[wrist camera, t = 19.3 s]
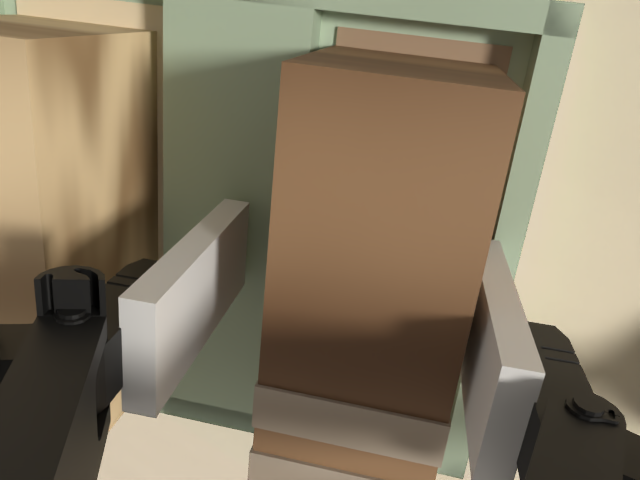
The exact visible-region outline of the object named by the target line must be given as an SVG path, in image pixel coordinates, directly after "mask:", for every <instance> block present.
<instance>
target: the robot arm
mask: <svg viewBox="0 0 640 480" xmlns="http://www.w3.org/2000/svg"><path fill="white" fill-rule="evenodd" d="M248 219H249V202H244V201H237V200H231V199H224V200H223V201H222V202H221V203H220V204H219V205H217V206H216V207H215V208H214V209H213V210H212V211H211V212H210V213H209V214H208V215H207V216H206V217H205V218H203V219H202V220H201V221H200V222H199V223H198V224H197V225H196V226H195V227H194V228H193V229H192V230H190V231H189V232H188V233H187V234H186V235H185V236H184V237H183V238H182V239H181V240H180V241H179V242H178V243H176V244H175V245H174V246H173V247H172V248H171V249H170V250H169V251H168V252H167V253H166V254H165V255H164V256H162V257H161V258H160V259H159V260H158V261H157V260H151V259H145V258H143V259H141V260H138V261H135V262H133V263H130V264H128V265H126V266H125V267H124V268H122V269H121V270H120V271H119V272H118V273H116V276H113V277H112V278H111V279H109V280H108V281H107V284H105V274H103V273H102V272H101V271H100V270H98V269H95V268H92V267H89V266H79V265H72V266H61V267H56V268H52V269H49V270H46V271H44V272H42V273H40V274H39V275H37V276H36V277H35V278H34V290H35V300H36V311H37V317H36V319H35V321H34V323H32V324H0V480H97V477H98V473H99V468H100V464H101V460H102V456H103V452H104V447H105V443H106V439H107V435H108V430H109V426H110V422H111V413H110V402H111V401H112V400H113V399H114V398H115V396H116V395H117V394H118V393H119V391H120V390H121V399H122V411H123V412H128V413H133V414H138V415H143V416H147V417H152V418H156V417H157V416H158V414H159V413H160V411H161V410H162V408H163V407H164V405H165V404H166V402H167V401H168V399H169V398H170V396H171V395H172V393H173V392H174V390H175V389H176V387H177V386H178V384H179V383H180V381H181V380H182V378H183V377H184V375H185V374H186V372H187V370H188V369H189V367H190V366H191V364H192V363H193V361H194V360H195V358H196V357H197V355H198V354H199V352H200V351H201V349H202V348H203V346H204V345H205V343H206V342H207V340H208V339H209V337H210V336H211V334H212V333H213V331H214V330H215V328H216V327H217V325H218V324H219V322H220V321H221V319H222V318H223V316H224V315H225V313H226V312H227V310H228V309H229V307H230V306H231V304H232V303H233V301H234V300H235V298H236V297H237V295H238V294H239V292H240V291H241V289H242V288H243V286H244V285H245V268H246V252H247V235H248ZM579 363H580V362H579V360H578V358H577V356H576V354H575V351H574V349H573V347H572V345H571V342H570V340H569V339H568V338H567V337H566V336H565V335H564V334H563V333H562V332H561V331H560V330H559V329H557V328H556V327H555V326H551V325H545V324H539V323H533V322H528V321H527V318H526V315H525V313H524V310H523V307H522V304H521V301H520V298H519V295H518V292H517V289H516V286H515V284H514V281H513V278H512V275H511V272H510V269H509V266H508V263H507V260H506V257H505V255H504V252H503V249H502V246H501V243H500V241H497V240H491V244H490V248H489V252H488V256H487V261H486V265H485V269H484V274H483V278H482V282H481V286H480V291H479V295H478V299H477V304H476V308H475V312H474V316H473V321H472V325H471V329H470V333H469V338H468V342H467V346H466V351H465V355H464V359H463V363H462V368H461V372H460V378H461V387H462V397H463V406H464V415H465V425H466V434H467V443H468V453H469V462H470V472H471V480H514V477H515V474H516V471H517V467H518V472H519V477H520V480H640V436H639V435H637V434H634V433H632V432H630V431H628V430H626V421H625V418H624V415H623V414H622V413H621V412H620V411H619V410H618V408H617V407H616V406H614V405H613V404H611V403H610V402H609V401H607V400H606V399H604V398H602V397H600V396H598V395H596V394H594V393H593V391H592V389H591V387H590V384H589V382H588V380H587V378H586V376H585V373H584V371H583V369H582V367H581V365H579Z"/></svg>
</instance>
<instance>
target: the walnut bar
mask: <svg viewBox="0 0 640 480" xmlns="http://www.w3.org/2000/svg"><path fill="white" fill-rule="evenodd" d="M525 94H526V92H525V91H524V90H522V89H521V88H520V87H519V86H518V85H517V84H516V83H515V82H514V81H513V80H512V79H511V78H510V77H508V76H507V75H506V74H505V73H504V72H503V71H502V70H501V69H500V68H499V67H498V66H497V65H492V64H484V63H476V62H468V61H460V60H451V59H443V58H435V57H427V56H419V55H410V54H402V53H394V52H386V51H378V50H369V49H361V48H353V47H345V46H337V45H334V46H330V47H327V48H324V49H321V50H317V51H314V52H311V53H308V54H304V55H301V56H298V57H295V58H291V59H288V60H285V61H282V63H281V77H280V90H279V104H278V117H277V131H276V144H275V158H274V171H273V184H272V198H271V211H270V225H269V238H268V252H267V265H266V278H265V292H264V305H263V319H262V332H261V346H260V359H259V373H258V380H257V382H256V384H255V386H254V398H253V412H252V426H251V427H254V440H253V446H252V448H251V450H250V454H249V468H248V480H435V479H436V475H437V470H438V468H441V466H442V462H443V458H444V453H445V449H446V445H447V441H448V436H449V432H450V428H451V420H450V415H451V410H452V406H453V402H454V398H455V393H456V389H457V385H458V381H459V376H460V372H461V368H462V363H463V359H464V355H465V351H466V346H467V342H468V338H469V333H470V329H471V325H472V321H473V316H474V312H475V308H476V304H477V299H478V295H479V291H480V286H481V282H482V278H483V274H484V269H485V265H486V261H487V256H488V252H489V248H490V244H491V239H492V235H493V231H494V227H495V222H496V218H497V214H498V209H499V205H500V201H501V197H502V192H503V188H504V184H505V179H506V175H507V171H508V167H509V162H510V158H511V154H512V150H513V145H514V141H515V137H516V132H517V128H518V124H519V120H520V115H521V111H522V107H523V102H524V98H525Z"/></svg>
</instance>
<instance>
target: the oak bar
mask: <svg viewBox="0 0 640 480" xmlns="http://www.w3.org/2000/svg"><path fill="white" fill-rule="evenodd" d="M143 258H145V259H151V260H157V261H158V134H157V31H152V30H144V29H135V28H127V27H119V26H111V25H102V24H94V23H86V22H78V21H69V20H61V19H53V18H45V17H36V16H28V15H20V14H17V15H0V324H32V323H34V321H35V319H36V317H37V311H36V300H35V290H34V278H35V277H36V276H37V275H39V274H40V273H42V272H44V271H46V270H49V269H52V268H56V267H61V266H72V265H79V266H89V267H92V268H95V269H98V270H100V271H101V272H102V273H103V274H105V284H107V281H108V280H109V279H111V278H112V277H113V276H116V273H118V272H119V271H120V270H121V269H122V268H124V267H125V266H126V265H128V264H130V263H133V262H135V261H138V260H141V259H143ZM110 413H111V422H110V426H109V430H108V432H109V431H110V429H111V428H112V427H113V426H114V424H115V423H116V422H117V421H118V419H119V418H120V417H121V415H122V414H123V413H124V412H123V411H122V399H121V390H120V391H119V393H118V394H117V395H116V396H115V398H114V399H113V400H112V401H111V402H110Z"/></svg>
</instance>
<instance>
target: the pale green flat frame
mask: <svg viewBox="0 0 640 480" xmlns="http://www.w3.org/2000/svg"><path fill="white" fill-rule="evenodd" d="M584 5H585V4H584V3H575V2H565V1H556V0H0V15H17V14H20V15H28V16H36V17H45V18H53V19H61V20H69V21H78V22H86V23H94V24H102V25H111V26H119V27H127V28H135V29H144V30H152V31H157V134H158V260H159V259H160V258H161V257H162V256H164V255H165V254H166V253H167V252H168V251H169V250H170V249H171V248H172V247H173V246H174V245H175V244H176V243H178V242H179V241H180V240H181V239H182V238H183V237H184V236H185V235H186V234H187V233H188V232H189V231H190V230H192V229H193V228H194V227H195V226H196V225H197V224H198V223H199V222H200V221H201V220H202V219H203V218H205V217H206V216H207V215H208V214H209V213H210V212H211V211H212V210H213V209H214V208H215V207H216V206H217V205H219V204H220V203H221V202H222V201H223V200H224V199H231V200H237V201H244V202H249V219H248V235H247V252H246V268H245V285H244V286H243V288H242V289H241V291H240V292H239V294H238V295H237V297H236V298H235V300H234V301H233V303H232V304H231V306H230V307H229V309H228V310H227V312H226V313H225V315H224V316H223V318H222V319H221V321H220V322H219V324H218V325H217V327H216V328H215V330H214V331H213V333H212V334H211V336H210V337H209V339H208V340H207V342H206V343H205V345H204V346H203V348H202V349H201V351H200V352H199V354H198V355H197V357H196V358H195V360H194V361H193V363H192V364H191V366H190V367H189V369H188V370H187V372H186V374H185V375H184V377H183V378H182V380H181V381H180V383H179V384H178V386H177V387H176V389H175V390H174V392H173V393H172V395H171V396H170V398H169V399H168V401H167V402H166V404H165V405H164V407H163V408H162V410H161V411H160V413H164V414H168V415H173V416H178V417H182V418H187V419H191V420H196V421H200V422H205V423H210V424H214V425H219V426H223V427H228V428H232V429H237V430H242V431H246V432H251V433H254V427H251V426H252V412H253V398H254V386H255V384H256V382H257V380H258V373H259V359H260V346H261V332H262V319H263V305H264V292H265V278H266V265H267V252H268V238H269V225H270V211H271V198H272V184H273V171H274V158H275V144H276V131H277V117H278V104H279V90H280V77H281V63H282V61H285V60H288V59H291V58H295V57H298V56H301V55H304V54H308V53H311V52H314V51H317V50H321V49H324V48H327V47H330V46H334V45H337V46H345V47H353V48H361V49H369V50H378V51H386V52H394V53H402V54H410V55H419V56H427V57H435V58H443V59H451V60H460V61H468V62H476V63H484V64H492V65H497V66H498V67H499V68H500V69H501V70H502V71H503V72H504V73H505V74H506V75H507V76H508V77H510V78H511V79H512V80H513V81H514V82H515V83H516V84H517V85H518V86H519V87H520V88H521V89H522V90H524V91H525V92H526V94H525V98H524V102H523V107H522V111H521V115H520V120H519V124H518V128H517V132H516V137H515V141H514V145H513V150H512V154H511V158H510V162H509V167H508V171H507V175H506V179H505V184H504V188H503V192H502V197H501V201H500V205H499V209H498V214H497V218H496V222H495V227H494V231H493V235H492V239H491V240H497V241H500V243H501V246H502V249H503V252H504V255H505V257H506V260H507V263H508V266H509V269H510V272H511V275H512V278H513V281H514V278H515V274H516V270H517V266H518V263H519V259H520V255H521V251H522V247H523V243H524V239H525V235H526V231H527V227H528V224H529V220H530V216H531V212H532V208H533V204H534V200H535V196H536V192H537V188H538V185H539V181H540V177H541V173H542V169H543V165H544V161H545V157H546V153H547V149H548V146H549V142H550V138H551V134H552V130H553V126H554V122H555V118H556V114H557V110H558V107H559V103H560V99H561V95H562V91H563V87H564V83H565V79H566V75H567V71H568V68H569V64H570V60H571V56H572V52H573V48H574V44H575V40H576V36H577V32H578V29H579V25H580V21H581V17H582V13H583V9H584ZM450 420H451V428H450V432H449V436H448V441H447V445H446V449H445V453H444V458H443V462H442V466H441V468H438V470H437V473H438V474H442V475H447V476H452V477H456V478H461V479H463V477H464V473H465V469H466V465H467V461H468V458H469V453H468V443H467V434H466V425H465V415H464V406H463V397H462V387H461V378H460V376H459V381H458V385H457V389H456V393H455V398H454V402H453V406H452V410H451V415H450Z"/></svg>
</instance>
